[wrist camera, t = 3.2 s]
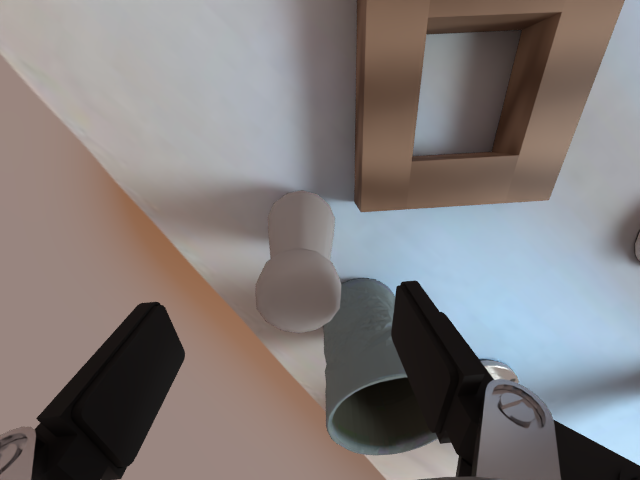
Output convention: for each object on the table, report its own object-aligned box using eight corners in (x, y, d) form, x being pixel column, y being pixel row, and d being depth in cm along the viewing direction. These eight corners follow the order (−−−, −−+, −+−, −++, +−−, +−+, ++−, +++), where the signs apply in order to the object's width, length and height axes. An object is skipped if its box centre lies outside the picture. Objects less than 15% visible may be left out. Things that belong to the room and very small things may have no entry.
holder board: (520, 191, 23) (548, 200, 20) (354, 201, 22) (361, 212, 20) (596, -46, 16) (655, -82, 13) (357, -37, 15) (368, -73, 13)
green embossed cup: (324, 268, 25) (338, 373, 14) (414, 275, 26) (489, 378, 15) (313, 336, 30) (317, 457, 19) (391, 340, 31) (437, 457, 20)
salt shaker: (296, 252, 24) (288, 369, 13) (258, 210, 22) (204, 302, 10) (344, 220, 23) (383, 316, 11) (308, 171, 21) (310, 227, 9)
